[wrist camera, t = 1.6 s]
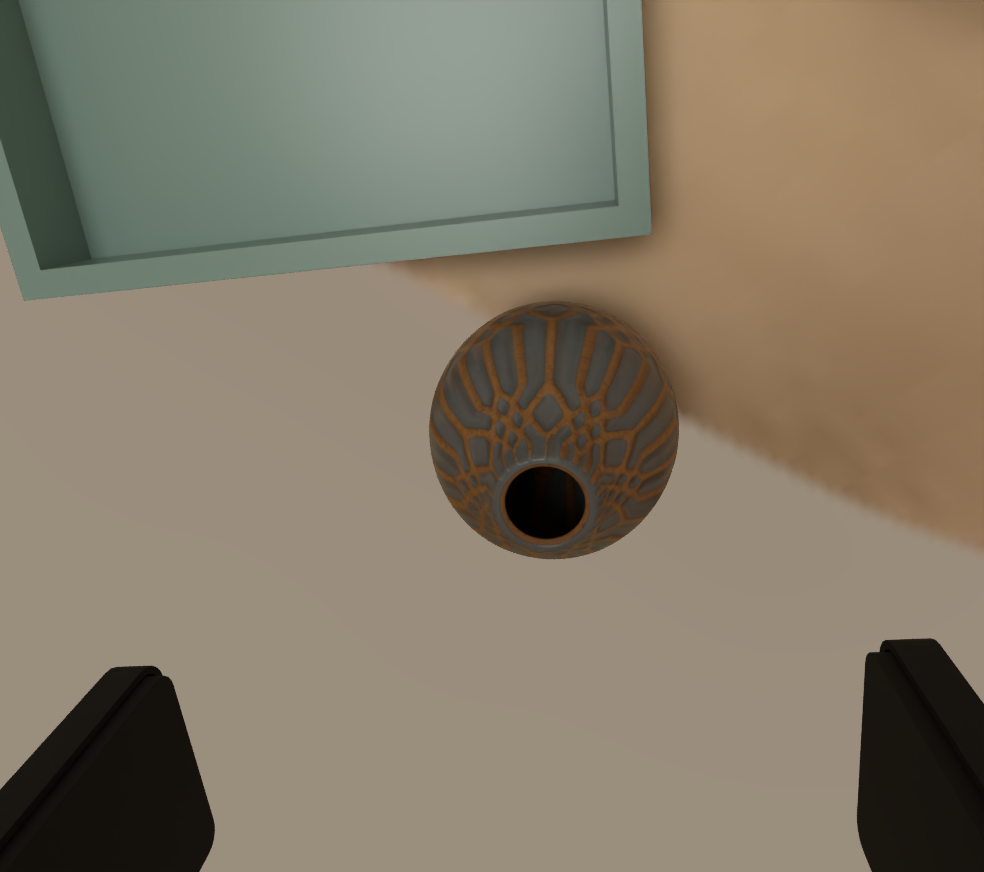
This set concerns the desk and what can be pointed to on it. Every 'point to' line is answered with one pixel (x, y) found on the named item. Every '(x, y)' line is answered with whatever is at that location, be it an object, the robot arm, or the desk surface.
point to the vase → (554, 430)
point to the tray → (311, 134)
